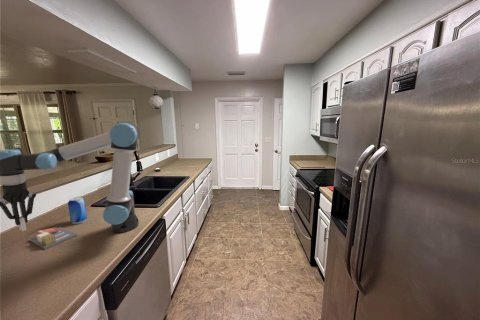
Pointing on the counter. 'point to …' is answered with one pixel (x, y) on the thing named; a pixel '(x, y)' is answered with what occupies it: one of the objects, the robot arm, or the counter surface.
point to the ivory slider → (42, 236)
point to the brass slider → (48, 239)
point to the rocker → (48, 230)
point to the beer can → (77, 210)
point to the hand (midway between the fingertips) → (23, 229)
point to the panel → (59, 237)
